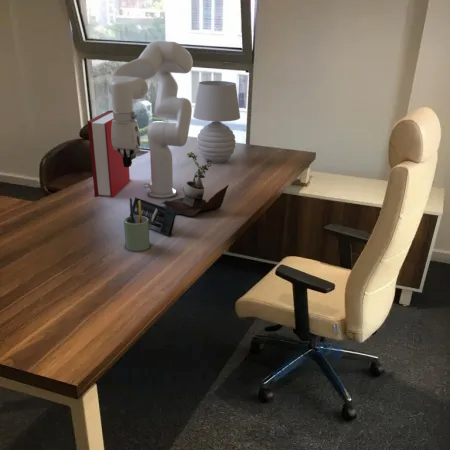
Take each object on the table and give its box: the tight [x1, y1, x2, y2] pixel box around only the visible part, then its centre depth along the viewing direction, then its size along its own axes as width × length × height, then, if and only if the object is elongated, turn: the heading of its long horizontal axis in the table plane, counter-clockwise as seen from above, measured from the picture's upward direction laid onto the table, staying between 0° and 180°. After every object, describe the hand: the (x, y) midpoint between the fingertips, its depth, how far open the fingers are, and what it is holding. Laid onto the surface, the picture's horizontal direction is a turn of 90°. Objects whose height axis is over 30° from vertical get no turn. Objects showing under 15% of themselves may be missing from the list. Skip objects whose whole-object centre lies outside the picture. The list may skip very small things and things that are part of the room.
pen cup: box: [123, 197, 151, 252], centre depth 179 cm, size 8×8×18 cm
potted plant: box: [160, 151, 230, 217], centre depth 214 cm, size 20×19×25 cm
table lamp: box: [192, 80, 241, 163], centre depth 279 cm, size 25×25×40 cm
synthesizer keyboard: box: [129, 196, 177, 237], centre depth 197 cm, size 22×10×10 cm
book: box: [87, 109, 131, 198], centre depth 233 cm, size 27×8×32 cm, turn 172°
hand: (127, 166), depth 198 cm, fingers closed
